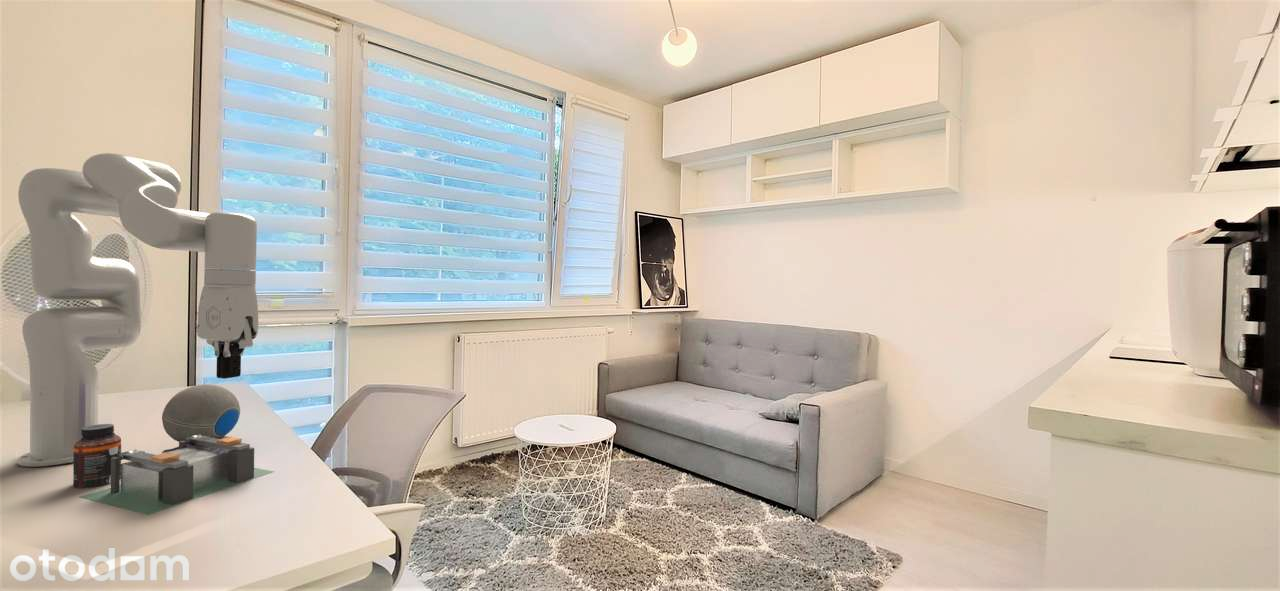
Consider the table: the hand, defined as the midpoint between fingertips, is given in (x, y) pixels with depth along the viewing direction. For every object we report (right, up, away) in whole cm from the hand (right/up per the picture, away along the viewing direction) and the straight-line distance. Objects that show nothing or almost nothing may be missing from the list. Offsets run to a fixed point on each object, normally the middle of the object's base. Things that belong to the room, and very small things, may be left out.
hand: (228, 376), depth 96 cm
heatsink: (-6, -19, -3) cm, 20 cm away
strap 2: (-3, -13, +1) cm, 14 cm away
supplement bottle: (-21, -20, -3) cm, 29 cm away
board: (-6, -20, -3) cm, 21 cm away
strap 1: (-6, -13, -8) cm, 17 cm away
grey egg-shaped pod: (-19, -20, +17) cm, 32 cm away
